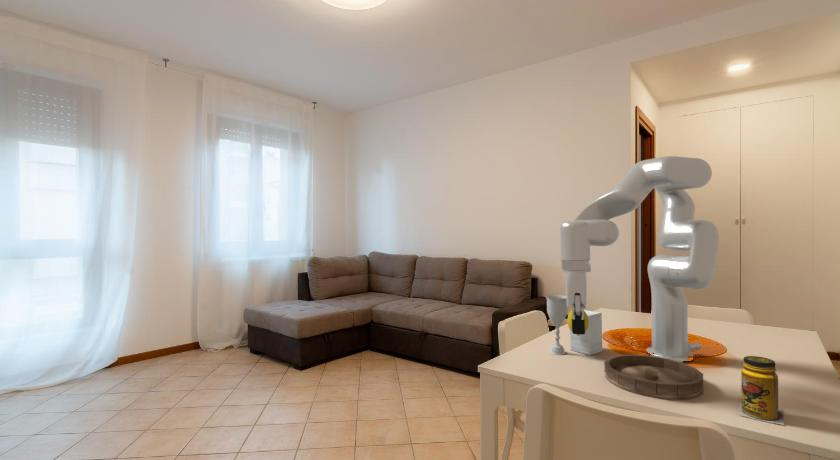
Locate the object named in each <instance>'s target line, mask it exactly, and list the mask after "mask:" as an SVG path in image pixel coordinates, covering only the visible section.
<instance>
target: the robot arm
mask: <svg viewBox="0 0 840 460" xmlns="http://www.w3.org/2000/svg"><path fill="white" fill-rule="evenodd" d="M712 171H713V170H712V168H711V165H710V164H709V163H708V162H707V161H706V160H704V159H703V158H697V157H685V156H678V155H677V156H676V155H675V156H674V155H673V156H672V155H668V156H666V155H665V156H661V157H655V158H654V157H653V158H648V159H644V160H641V161H639V162H636V163H635V164H633V166H632V167H631V168H629V170H628V171H627V173H626V174H624V176H623V177H622V178H621V179H620V180H619V182H618V183H617V184H616V185H615V186H614V187H613V188H612V190H610V191H609V192H606V193H605V194H604V195H602V196H600V197H598V199H596V200H594V201H593V202H591V203H589V204H588V205H586V206H585V207H584V208H583V209H582V210H581V211H579V212H578V215H576V217H575V218H574V219H573V220H572V221H564V222H562V223H561V224H560V227H559V228H560V229H559V230H560V255H561V257H560V260H561V272H563V273H565V296H566V302H567V310H568V309H570V308H571V310H572V311H573V319H572V333H573V334H583V335H584V334H585V319H584V316H583V310H586V307H587V294H588V293H587V291H588V290H587V289H588V286H587V273H591V272H592V267H591V266H592V265H591V263H592V262H591V247H592V246H594V247H608V246H611V245H613V244H615V242H617V240H618V238H619V236H620V230H619V227H618V225H617V224H616V223H615V222H614V221H611V219H614V218H616V217H620V216H623V215H627V214H628V213H631V212H633V211H635V210H636V209H637V208H638V207H639V206H640V205H641V204H642V202H643V201H644V200H645V199H646V198H647V196H648V195H649V194H650V193H651V192H652V190H655V191H656V193H657V194H658V196H659V198H660V200H661V203H662V213H661V217H660V224H659V230H658V245H659V246H660V247H661V248H662V249H664V250H668V251H675V252H689V255H682V254H670V253H669V254H668V253H667V254H665V253H662V254H657V255H655V256H653V257H651V258H650V259H649V261H648V264H647V274H648V279H649V280H648V281H649V284H650V293H651V295H650V296H651V346H649V347H646V351H647V352H648V353H650V354H651V355H652V356H654V357H661V358H666V359H670V360H675V361H680V362H682V363H684V362H683V361H688V359H689V358H687V357H688V356H694V357H695V355H694V353H692V351H698V350H702V344H701V343H699V342H697V343H696V342H695V343H691V342H689V341H688V340H689V339H688V338H689V336H688V335H689V334H688V332H689V329H688V327H689V326H688V325H689V324H688V323H689V322H688V318H689V317H688V315H689V314H688V311H689V310H688V308H689V307H688V306H689V305H688V303H689V302H688V298H687V295H686V294H685V291H684V289H683V288H687V289H693V290H702V289H706V288H708V287H710V285H711V284H712V282H713V279H714V276H715V271H716V264H717V258H718V251H719V247H720V246H719V245H720V234H719V231H718V228H717V226H716V225H715V224H714V223H712V221H710V220H705V219H694V218H695V210H696V209H695V202H694V199H692V196H691V195H689V193H688V192H687V191H686V190H690V189H698V188H703V187H705V186H706V185H707V184H708V183H709V182H710V180H711V179H712V174H713V172H712ZM574 310H576V311H574ZM580 310H581V311H580ZM581 318H582V319H581ZM646 351H645V352H646ZM653 353H654V354H653Z"/></svg>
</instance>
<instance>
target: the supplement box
mask: <svg viewBox="0 0 840 460" xmlns="http://www.w3.org/2000/svg"><path fill="white" fill-rule="evenodd" d="M583 310H584V311H585V312H586V314H587V316H588V319H589V326H588V329H587V331H586V332H585V334H584V335H583V334H581V335H580V336H577V335H576V334H573V333H572V331H571V330H570V329H569V346H570V348H569V349H570V351H573V352H578V353H581V354H584V355H589V356H591V355H595V354H598V353H601V352H603V327H602V326H603V324H602V323H603V321H602V318H603V317H602V312H600V311H592V310H586V309H583Z"/></svg>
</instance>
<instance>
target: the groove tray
mask: <svg viewBox="0 0 840 460" xmlns="http://www.w3.org/2000/svg"><path fill="white" fill-rule="evenodd" d="M603 364H604V365H603V366H604V368H603V370H604V373H605V374H604V375H605V379H606V380H607V381H608V382H609V383H610V384H612V385H613V386H615V387H618V388H620V389H622V390H623V391H624V390H625V391H627V392H630V393H633V394H635V395H641V396H645V397H648V398H654V399H655V398H656V399H664V400H675V401H676V400H679V401H680V400H691V399H694V398H695V399H696V398H699V397H700V396H701V395H703V393H704V374H703V373H702V372H701V371H700V370H699V369H697V368H696V367H693V366H691V365H689V364H687V363H685V362H678V361H674V360H670V359H666V358H661V357H654V356H649V355H648V354H617V355H613V356H610V357H608V358H606V359H605V361H604V362H603Z"/></svg>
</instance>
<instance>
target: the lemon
mask: <svg viewBox="0 0 840 460" xmlns="http://www.w3.org/2000/svg"><path fill="white" fill-rule="evenodd" d="M584 310H585V309H583V316H584V319H585V332H586V331H587V329H588V326H589V319H588V316H587V314H586V312H585V311H584ZM574 311H576V310H574ZM580 311H581V310H580ZM572 319H573V311H572V309H571V310H570V311H569V313H567V326H568V328H569V331H570V330H571V331H572ZM581 319H582V318H581ZM576 335H577V336H580V335H581V334H576Z"/></svg>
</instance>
